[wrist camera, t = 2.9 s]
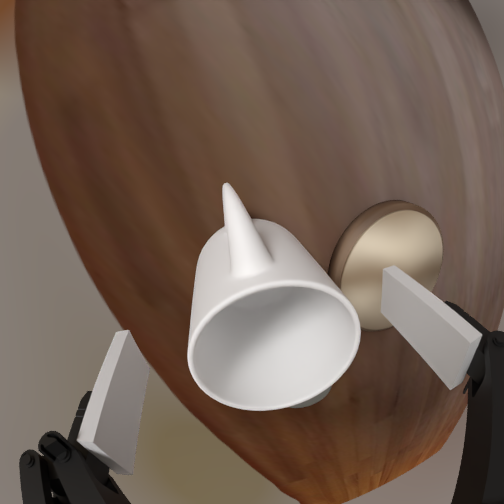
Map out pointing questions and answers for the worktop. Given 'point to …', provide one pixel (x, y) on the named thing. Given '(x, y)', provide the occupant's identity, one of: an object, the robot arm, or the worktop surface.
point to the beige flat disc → (385, 255)
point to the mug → (266, 317)
